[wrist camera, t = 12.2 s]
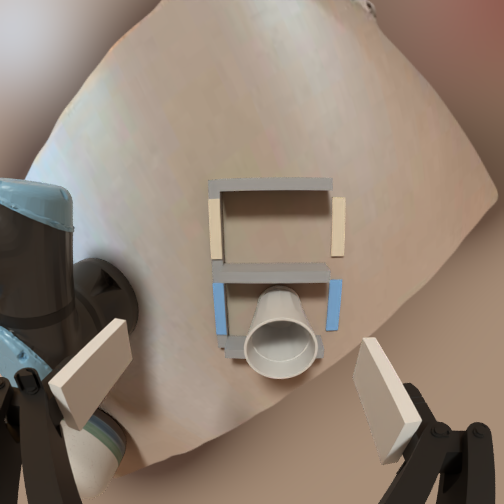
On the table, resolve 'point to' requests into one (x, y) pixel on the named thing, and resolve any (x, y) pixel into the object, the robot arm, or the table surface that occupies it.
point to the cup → (280, 335)
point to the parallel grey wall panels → (269, 270)
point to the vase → (94, 453)
